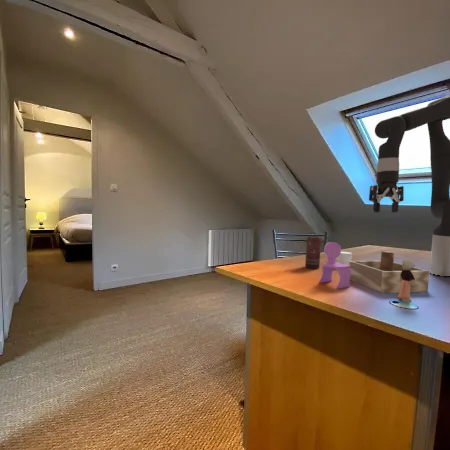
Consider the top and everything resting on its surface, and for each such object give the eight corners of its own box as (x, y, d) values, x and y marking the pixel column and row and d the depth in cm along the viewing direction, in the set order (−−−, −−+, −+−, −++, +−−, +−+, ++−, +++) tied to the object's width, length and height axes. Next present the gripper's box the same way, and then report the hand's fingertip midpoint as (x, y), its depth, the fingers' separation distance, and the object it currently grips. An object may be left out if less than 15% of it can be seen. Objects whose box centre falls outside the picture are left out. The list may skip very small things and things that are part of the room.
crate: (386, 277, 115) (388, 260, 114) (427, 291, 97) (429, 271, 97) (347, 278, 111) (348, 261, 110) (382, 293, 93) (384, 272, 93)
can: (320, 269, 126) (322, 238, 125) (305, 268, 127) (307, 237, 126) (319, 266, 132) (320, 236, 131) (304, 265, 133) (306, 235, 132)
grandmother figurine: (390, 295, 90) (393, 256, 89) (401, 296, 91) (404, 256, 90) (407, 304, 83) (411, 261, 82) (420, 304, 83) (423, 261, 82)
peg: (385, 283, 106) (388, 251, 105) (394, 286, 102) (396, 253, 102) (376, 283, 105) (378, 251, 105) (384, 286, 101) (387, 253, 101)
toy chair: (336, 289, 96) (339, 245, 95) (316, 282, 103) (319, 241, 102) (352, 286, 99) (355, 244, 98) (332, 280, 107) (335, 241, 106)
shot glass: (350, 266, 135) (351, 251, 134) (352, 269, 128) (353, 254, 128) (335, 265, 137) (336, 250, 137) (335, 267, 131) (336, 252, 130)
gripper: (394, 172, 116) (392, 212, 117) (365, 171, 113) (363, 212, 114) (410, 170, 109) (408, 212, 110) (380, 168, 105) (378, 212, 106)
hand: (385, 212), depth 112 cm, fingers open, 8 cm apart
